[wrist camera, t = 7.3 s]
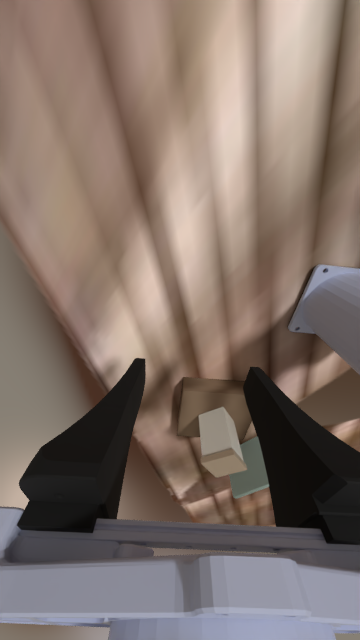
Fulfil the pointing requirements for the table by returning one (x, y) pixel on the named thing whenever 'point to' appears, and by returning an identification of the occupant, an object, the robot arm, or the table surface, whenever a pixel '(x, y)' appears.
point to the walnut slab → (211, 404)
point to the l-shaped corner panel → (250, 471)
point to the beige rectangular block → (220, 443)
